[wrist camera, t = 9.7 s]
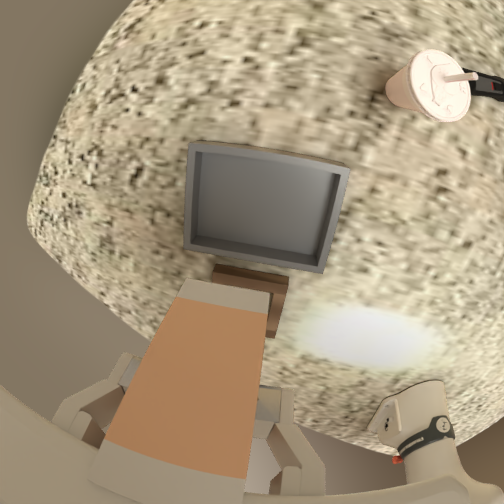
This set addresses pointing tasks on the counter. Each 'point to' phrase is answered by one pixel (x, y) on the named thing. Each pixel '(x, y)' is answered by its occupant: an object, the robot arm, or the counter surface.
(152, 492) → the block
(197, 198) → the tray
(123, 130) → the counter surface
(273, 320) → the frame
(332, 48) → the counter surface
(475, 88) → the electric trimmer
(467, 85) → the smoothie
